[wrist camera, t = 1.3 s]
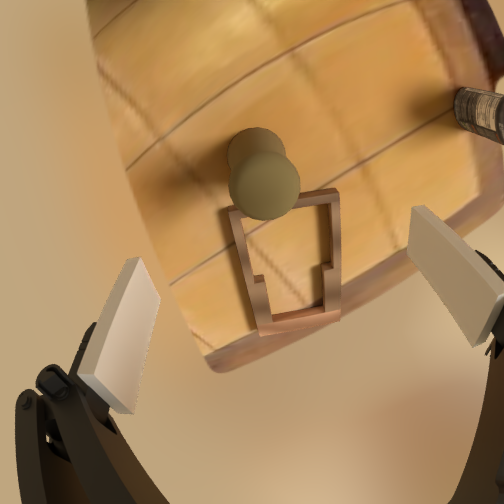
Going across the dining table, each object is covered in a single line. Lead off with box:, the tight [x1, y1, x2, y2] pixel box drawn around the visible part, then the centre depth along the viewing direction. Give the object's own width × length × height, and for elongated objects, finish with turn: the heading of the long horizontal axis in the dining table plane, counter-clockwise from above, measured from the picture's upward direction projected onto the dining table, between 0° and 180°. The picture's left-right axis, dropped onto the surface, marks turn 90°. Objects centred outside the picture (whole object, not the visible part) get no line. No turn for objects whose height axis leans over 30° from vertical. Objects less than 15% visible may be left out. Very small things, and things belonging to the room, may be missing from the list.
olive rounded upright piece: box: [227, 127, 300, 221], centre depth 24 cm, size 6×6×11 cm
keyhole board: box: [228, 188, 341, 336], centre depth 36 cm, size 20×12×2 cm, turn 10°
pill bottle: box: [454, 87, 504, 145], centre depth 20 cm, size 6×6×11 cm
